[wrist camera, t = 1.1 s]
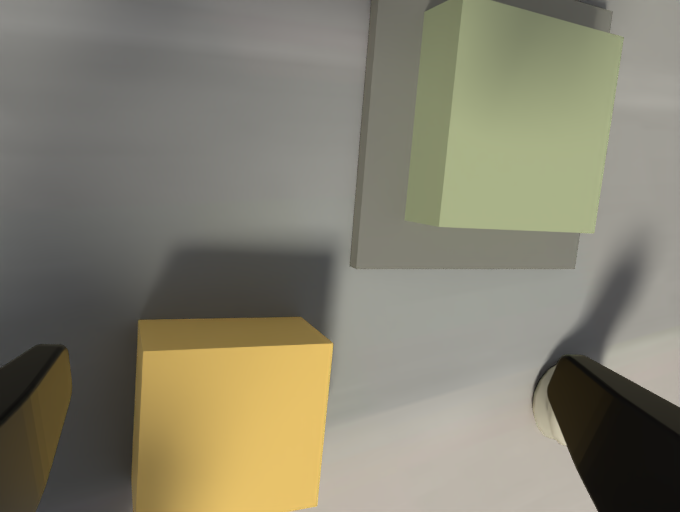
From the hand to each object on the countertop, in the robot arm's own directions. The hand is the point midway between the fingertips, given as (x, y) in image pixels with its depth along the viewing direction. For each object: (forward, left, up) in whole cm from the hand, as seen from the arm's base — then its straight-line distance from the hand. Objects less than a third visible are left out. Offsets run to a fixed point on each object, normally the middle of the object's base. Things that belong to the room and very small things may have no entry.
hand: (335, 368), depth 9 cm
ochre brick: (-5, 0, -11) cm, 12 cm away
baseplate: (+6, -11, -10) cm, 16 cm away
